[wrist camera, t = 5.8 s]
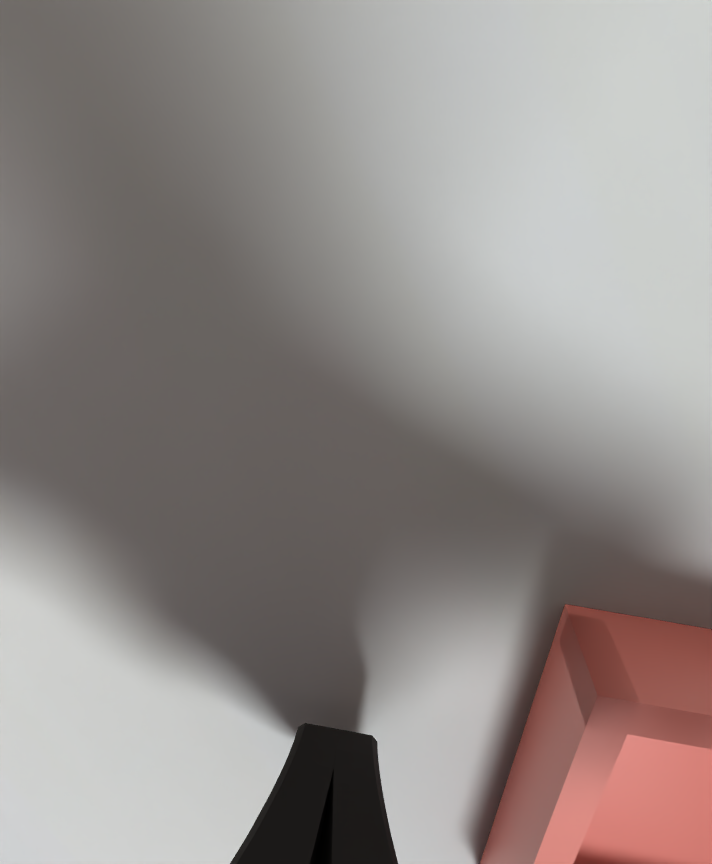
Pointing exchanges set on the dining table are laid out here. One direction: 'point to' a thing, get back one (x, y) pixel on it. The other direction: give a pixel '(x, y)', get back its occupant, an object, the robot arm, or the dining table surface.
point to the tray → (613, 748)
